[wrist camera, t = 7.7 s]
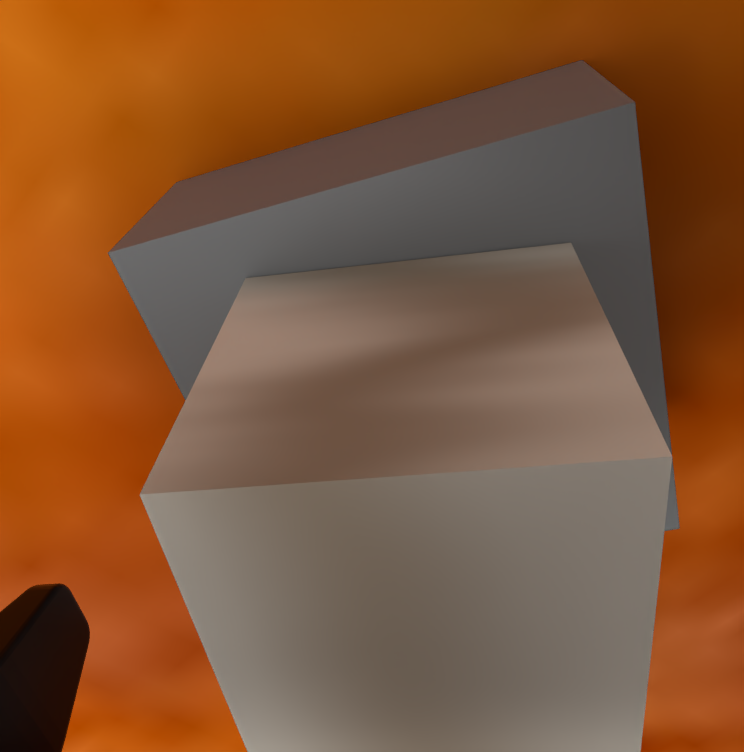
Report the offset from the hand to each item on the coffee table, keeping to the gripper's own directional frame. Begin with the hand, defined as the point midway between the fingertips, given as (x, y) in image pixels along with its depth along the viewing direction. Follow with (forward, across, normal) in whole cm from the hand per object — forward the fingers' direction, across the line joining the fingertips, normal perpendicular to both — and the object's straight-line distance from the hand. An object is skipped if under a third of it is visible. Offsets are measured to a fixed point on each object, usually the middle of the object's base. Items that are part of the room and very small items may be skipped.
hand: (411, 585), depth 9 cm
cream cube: (+4, 0, 0) cm, 4 cm away
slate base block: (+8, 0, 0) cm, 8 cm away
